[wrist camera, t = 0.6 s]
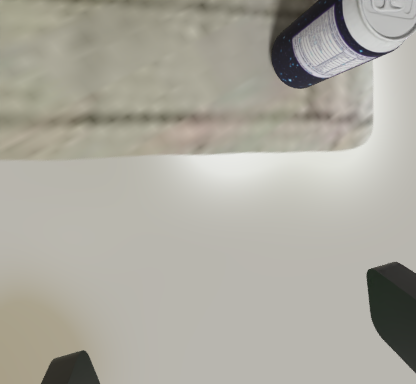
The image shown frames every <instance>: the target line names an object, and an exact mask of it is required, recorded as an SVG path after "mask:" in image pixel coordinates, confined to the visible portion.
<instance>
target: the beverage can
mask: <svg viewBox="0 0 416 384" xmlns="http://www.w3.org/2000/svg"><path fill="white" fill-rule="evenodd" d="M415 31H416V0H319V1H317V2H316V3H315V4H314V5H313V6H312V7H310V8H309V9H308V10H307V11H306V12H305V13H304V14H302V15H301V16H300V17H299V18H298V19H297V20H295V21H294V22H293V23H292V24H291V25H290V26H289V27H287V28H286V29H285V30H284V31H283V32H282V33H281V34H280V35H279V36H278V37H277V39H276V40H275V42H274V45H273V48H272V64H273V67H274V70H275V72H276V74H277V76H278V77H279V78H280V80H281V81H282V82H284V83H285V84H286V85H288V86H290V87H293V88H298V89H302V88H307V87H309V86H312V85H314V84H317V83H319V82H321V81H324V80H326V79H328V78H331V77H333V76H335V75H338V74H340V73H343V72H345V71H347V70H350V69H352V68H354V67H357V66H359V65H361V64H364V63H366V62H369V61H371V60H373V59H376V58H378V57H380V56H382V55H385V54H387V53H390V52H392V51H394V50H395V49H397V48H398V47H399V46H400V45H401V44H402V43H403V42H404V41H405V39H406V38H408V37H409V36H410V35H412V34H413V33H414V32H415Z"/></svg>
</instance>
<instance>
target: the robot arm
mask: <svg viewBox="0 0 416 384" xmlns="http://www.w3.org/2000/svg"><path fill="white" fill-rule="evenodd" d="M367 285H368V294H369V304H370V312H371V318H372V322H373V324H374V326H375V328H376V330H377V332H378V333H379V335H380V336H381V338H382V339H383V340H384V341H385V342H386V343H387V344H388V345H389V346H390V347H391V348H392V349H393V350H394V351H395V352H396V353H397V354H398V355H399V356H400V357H401V358H402V359H403V360H404V361H405V363H406V364H408V366H409V367H410V368H411V369H412V370H413V371H414V372H415V373H416V273H414V272H413V271H411V270H409V269H408V268H406V267H405V266H403V265H401V264H400V263H398V262H392V263H389V264H386V265H382V266H379V267H375V268H371V269H369V270H368V272H367ZM41 384H100V382H99V380H98V377H97V375H96V372H95V370H94V367H93V365H92V362H91V360H90V358H89V355H88V354H87V353H86V351H84V350H83V351H80V352H76V353H72V354H69V355H65V356H62V357H58V358H55V359H53V360H52V362H51V364H50V365H49V368H48V370H47V372H46V374H45V376H44V378H43V381H42V383H41Z"/></svg>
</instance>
